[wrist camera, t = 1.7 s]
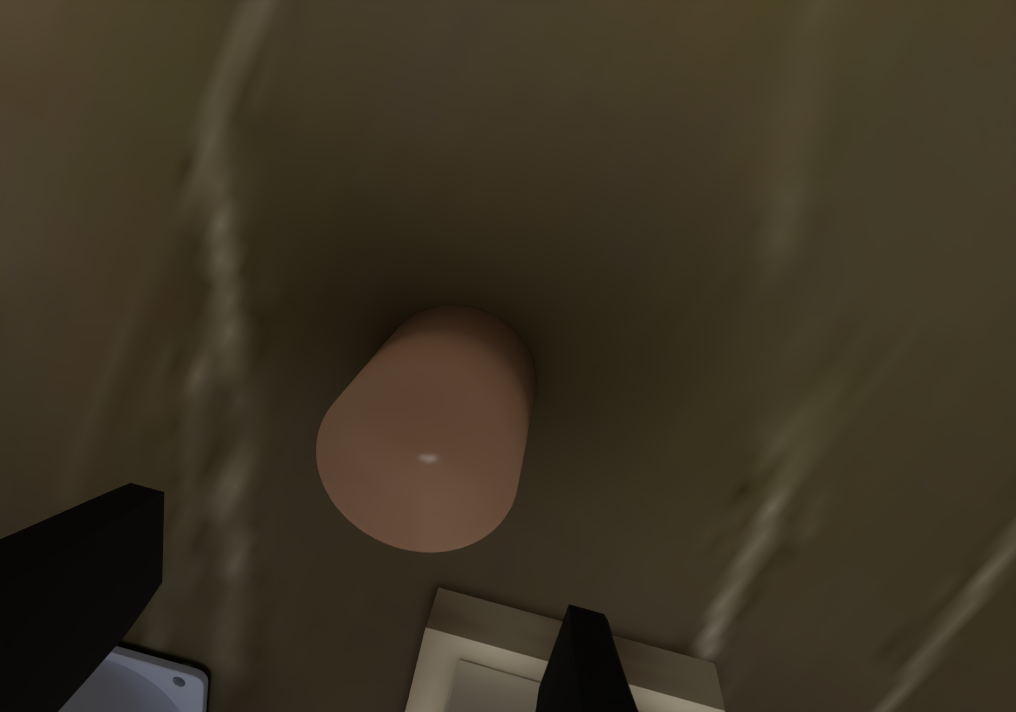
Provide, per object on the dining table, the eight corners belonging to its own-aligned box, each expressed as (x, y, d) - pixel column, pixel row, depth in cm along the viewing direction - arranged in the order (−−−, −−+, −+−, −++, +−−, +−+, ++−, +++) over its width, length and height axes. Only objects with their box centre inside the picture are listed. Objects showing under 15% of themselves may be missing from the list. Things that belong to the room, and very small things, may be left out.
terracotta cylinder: (370, 426, 20) (305, 522, 16) (394, 286, 18) (329, 348, 14) (515, 466, 20) (492, 573, 16) (554, 328, 18) (541, 405, 14)
